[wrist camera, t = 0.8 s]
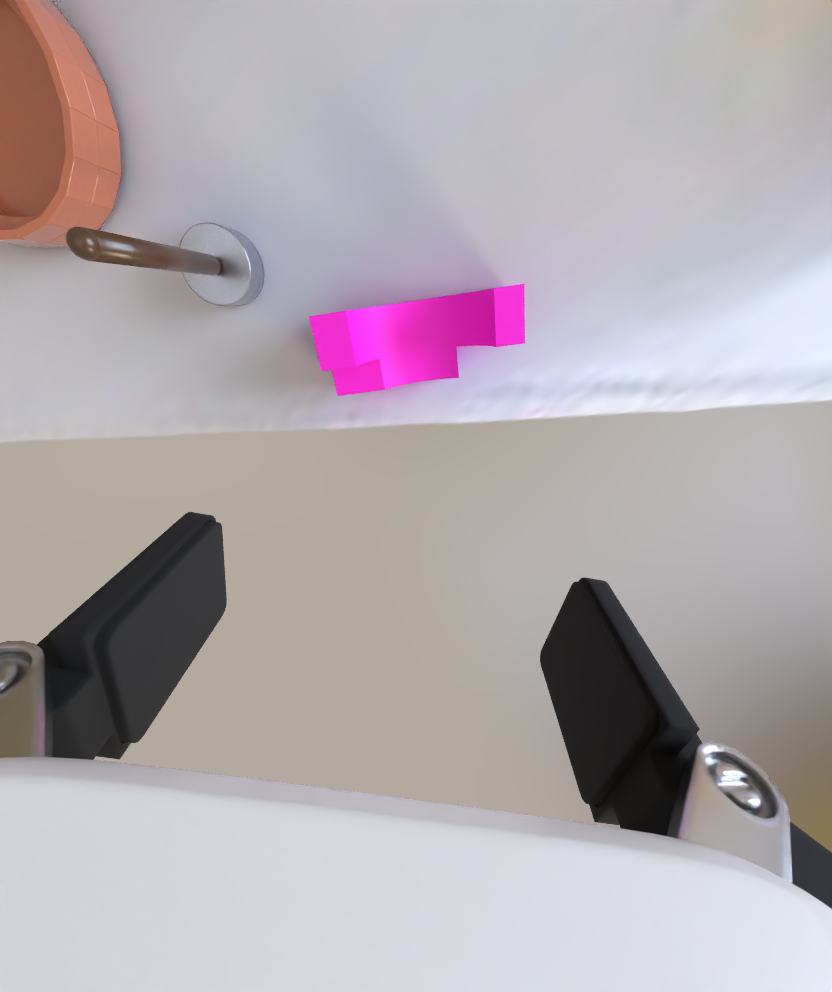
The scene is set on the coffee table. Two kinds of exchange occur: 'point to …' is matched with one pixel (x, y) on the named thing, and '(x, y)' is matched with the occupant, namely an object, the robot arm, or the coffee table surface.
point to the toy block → (414, 337)
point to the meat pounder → (184, 259)
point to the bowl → (52, 129)
